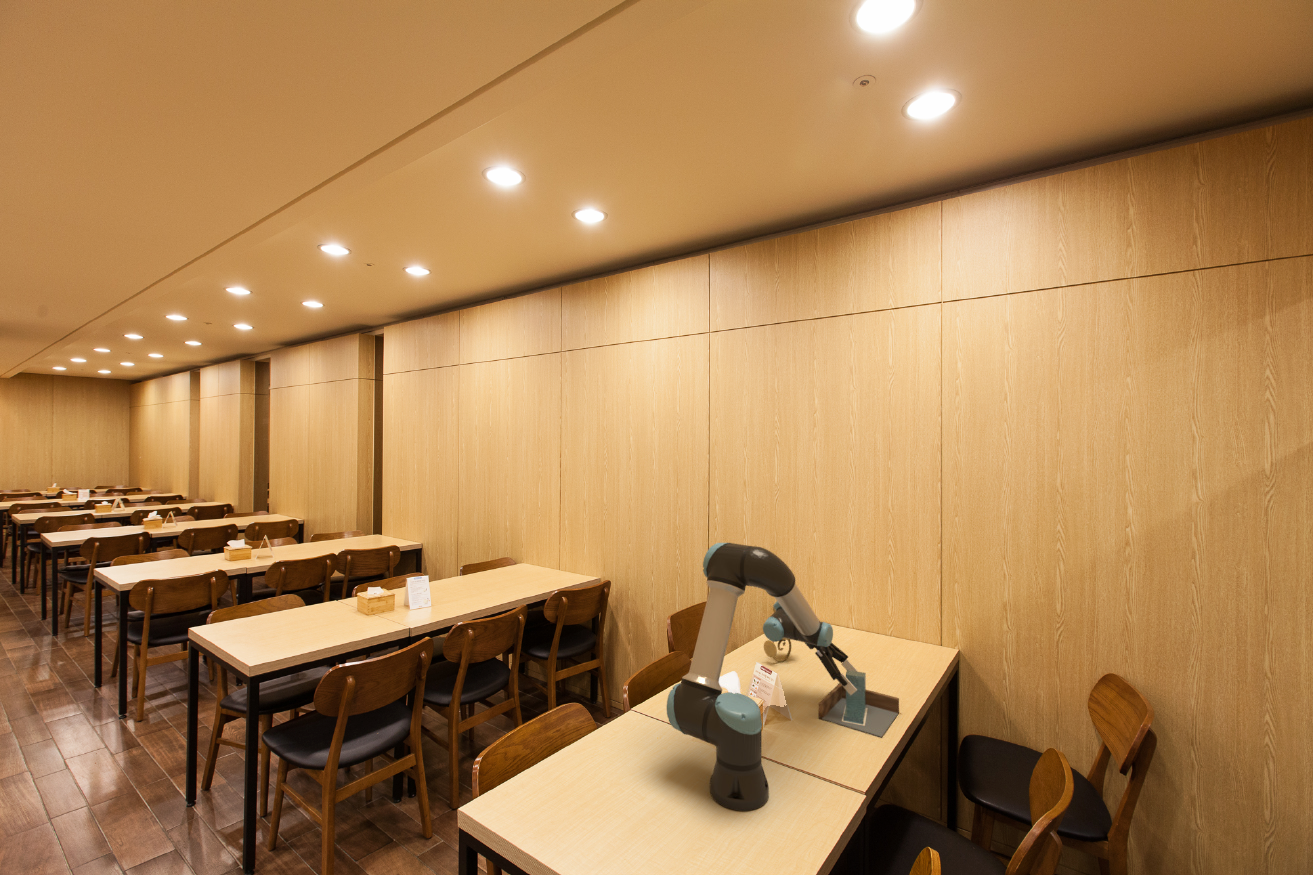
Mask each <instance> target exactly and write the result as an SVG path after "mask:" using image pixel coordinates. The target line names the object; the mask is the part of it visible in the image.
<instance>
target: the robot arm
mask: <svg viewBox="0 0 1313 875" xmlns="http://www.w3.org/2000/svg"><path fill="white" fill-rule="evenodd" d="M702 568H703V570H702V571H703V574H704V576H705V577H706V585H707V587H708V588H709V592H708V595H707V599H706V604H705V607H704V611H703V615H702V619H701V622H700V627H699V630H698V634H697V639H696V643H695V647H694V651H693V655H692V659H691V663H690V667H689V671H688V673H686V674H685V675H683V676H681V681H680V683H676V684H675V685H674V686H673V687H672V689H671V690H670V691H669V693H668V696H667V700H666V715H667V719H668V722H669V724H670V725H671V727H672V728H673V729H674V730H676V731H679V732H681V733H682V734H683V735H688V736H690V737H693V738H695V739H698V740H700V741H702V742H705V743H708V744H710V745H713V746H714V747H715V753H716V754H715V755H716V756H715V759H716V760H715V763H714V767H713V770H712V774H711V775H710V779H709V793H710V796H711V798H712V799H713V800H714V801H715V802H716V803H717V804H719V805H720V806H722V807H723V808H727V809H728V810H729V809H730V810H733V811H734V810H735V811H742V812H743V811H745V812H746V811H753V810H756V809H759V808H761V807H762V806H764V805H765V804H766V803H767V802H768V799H769V795H770V793H769V792H770V790H769V782H768V779H767V777H766V773H765V770H764V766H763V763H762V762H763V761H762V726H763V722H762V713H761V709H760V706H759V705H758V703H757V702H756V701H755V700H754V699H752V698H751V697H749V696H748V695H745V694H743V693H739V692H735V693H733V692H731V691H730V692H723V688H722V687H721V685H720V676H721V672H722V670H723V669H722V668H723V663H724V659H725V655H726V650H727V647H728V642H729V640H730V639H729V638H730V634H731V629H732V626H733V620H734V617H735V611H736V609H737V603H738V598H739V597H740V596H743V595H745V593H746V592H745V591H746V588H747V586H748V587H753V588H757V589H762V590H764V591H765V592H766V593H767V594H768V595H769V596H770V597H773V598H774V599H775V600H776V602H774V604H773V606H772V608H773V607H774V609H775V612H774V611H773V613H772V614H771V615H770V616H769V617H768V618H767V619H766V620H765V621H764V623H763V624H762V631H763V634H764V636H765V637H766V638H767V640H770V641H773V642H774V643H775V642H776V643H778V642H779V641H780V640H782V639H783V638H787V639H791V640H790V641H796V642H797V641H798V642H801V643H804V644H805V645H806V646H807V647H808V649H810V650H814V649H816V651H815V653H814V654H815V656H817V658H818V659H819V660H820V662H821V663H822V665H823V667H824V668H825V670H826V671H827V673H828V674H829V676H830V677H831V679H832V681H835V680H836V681H837V682H838V684H839V683H840V684H841V685H842V686H843V687H844V688H845V689H846V691H847V692H848V693H849V694H850V695H852V694H853V693H854V692H856V691H857V689H856V688H855V687H854V686H853V685H852V683H851V682H850V681H849V680H848V679H847V678H846V675H845V674H844V673H841V670H839V667H838V666H837V663H836V662H835V660H836V661H838V662H839V663H841V666H842V667H843V668H844V669H845V670H846V671H847V670H850V671H856V672H859V671H858V670H857V668H856V667H855V666H854V665H853V664H852V663H851V662H850V661H849V659H848V658H849V656H848V655H847V654H846V653H845V652H844V651H843V650H842V649H841V648H839V647H838V646H836V644H834V643H833V638H834V629H833V625H832V624H830V623H828V622H825V621H820V619H819V617H818V616H817V614H816V613H815V611H814V610H813V609H812V606H810V604H809V602H808V600H807V599H806V598H805V596H804V594H803V593H802V591H801V589H800V588H799V587H798V585H797V584H796V576H795V574H794V573H793V571H792V569H791V568H790V567H789V566H788V565H787V563H786V562H785V561H783V560H782V559H781V558H780V557H778V555H777V554H775V553H774V552H772V551H770V550H769V549H767V548H764V547H761V546H757V545H754V546H753V545H748V544H747V545H746V544H739V543H733V542H717V543H714V544H713V545H711V546H710V547H709V548H708V550H707V552H706V553H705V555H704V557H703V561H702ZM834 659H835V660H834ZM722 692H723V693H722Z"/></svg>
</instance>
